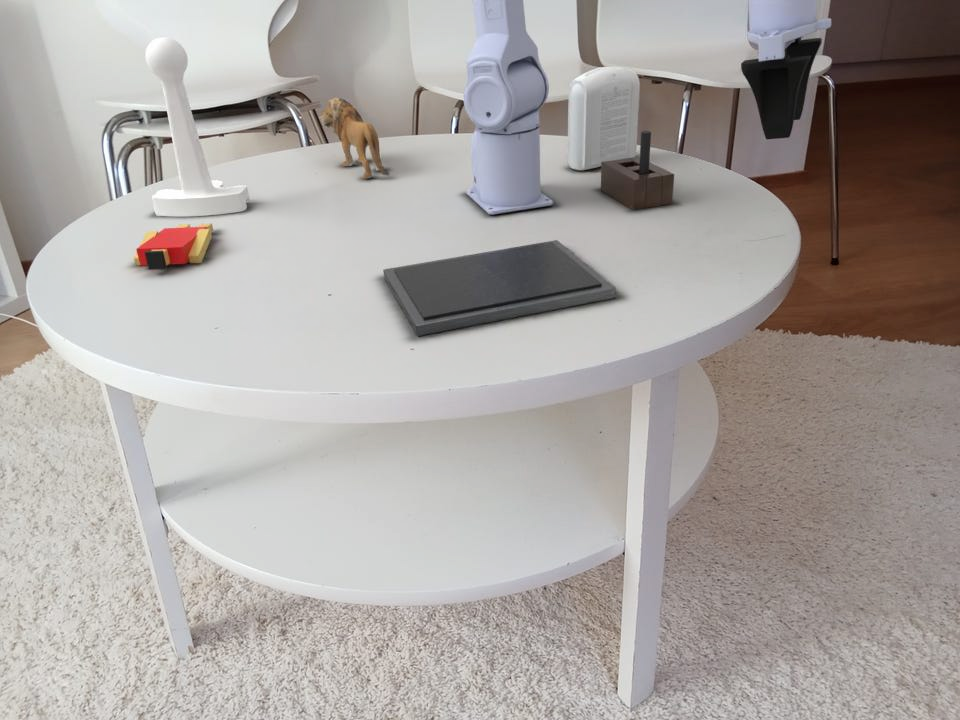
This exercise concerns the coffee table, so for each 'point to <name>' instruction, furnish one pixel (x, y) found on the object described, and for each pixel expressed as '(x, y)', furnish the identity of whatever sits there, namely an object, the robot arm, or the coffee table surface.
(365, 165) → the lion figurine
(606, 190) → the holder
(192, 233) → the toy figure
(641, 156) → the stylus
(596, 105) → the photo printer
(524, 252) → the tablet
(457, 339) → the coffee table surface
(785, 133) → the robot arm
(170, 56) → the joystick
